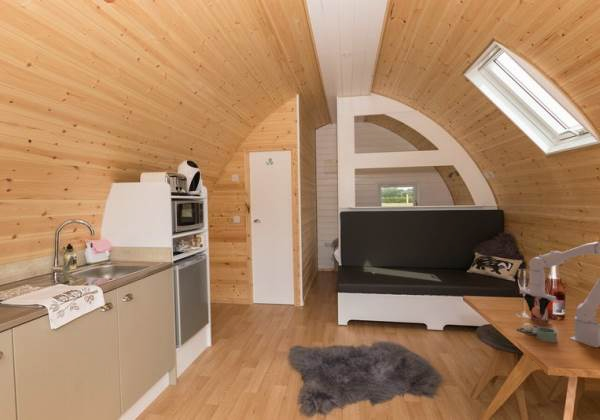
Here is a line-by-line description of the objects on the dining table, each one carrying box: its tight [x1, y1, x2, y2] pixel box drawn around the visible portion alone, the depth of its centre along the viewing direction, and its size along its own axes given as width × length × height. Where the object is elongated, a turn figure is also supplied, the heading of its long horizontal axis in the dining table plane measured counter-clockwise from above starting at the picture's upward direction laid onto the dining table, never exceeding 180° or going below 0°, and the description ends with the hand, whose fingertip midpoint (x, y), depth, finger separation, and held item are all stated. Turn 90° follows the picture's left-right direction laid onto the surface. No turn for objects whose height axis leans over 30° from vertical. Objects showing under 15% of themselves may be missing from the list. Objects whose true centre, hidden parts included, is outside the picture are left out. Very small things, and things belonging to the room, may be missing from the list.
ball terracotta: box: [532, 307, 541, 316], centre depth 151 cm, size 4×4×4 cm
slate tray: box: [516, 324, 539, 337], centre depth 150 cm, size 7×12×1 cm, turn 114°
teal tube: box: [536, 326, 558, 343], centre depth 141 cm, size 7×7×4 cm
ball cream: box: [522, 322, 534, 332], centre depth 149 cm, size 4×4×4 cm
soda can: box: [530, 297, 549, 322], centre depth 165 cm, size 7×7×13 cm
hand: (536, 312), depth 151 cm, fingers closed on ball terracotta, 4 cm apart
